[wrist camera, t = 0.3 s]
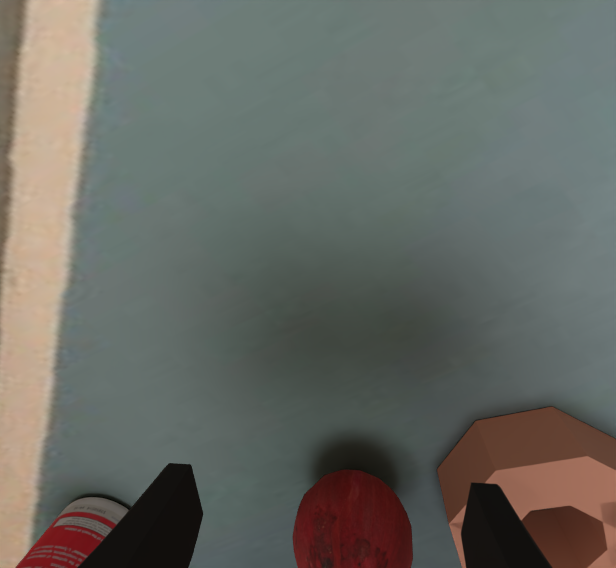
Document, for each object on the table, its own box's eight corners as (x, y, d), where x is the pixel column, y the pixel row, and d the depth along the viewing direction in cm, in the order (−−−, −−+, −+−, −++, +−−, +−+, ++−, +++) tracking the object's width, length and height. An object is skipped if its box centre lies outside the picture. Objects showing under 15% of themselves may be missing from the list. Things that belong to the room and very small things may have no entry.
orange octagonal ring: (548, 568, 24) (578, 636, 20) (412, 500, 23) (419, 557, 20) (662, 462, 21) (718, 522, 17) (505, 383, 20) (532, 428, 17)
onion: (286, 456, 24) (249, 600, 16) (376, 423, 22) (381, 564, 15) (334, 528, 25) (320, 692, 17) (422, 501, 23) (448, 668, 16)
